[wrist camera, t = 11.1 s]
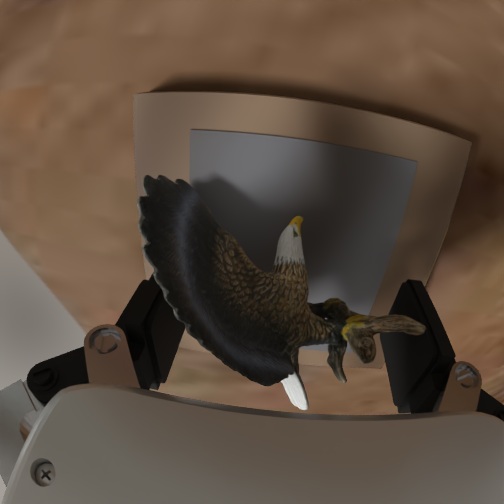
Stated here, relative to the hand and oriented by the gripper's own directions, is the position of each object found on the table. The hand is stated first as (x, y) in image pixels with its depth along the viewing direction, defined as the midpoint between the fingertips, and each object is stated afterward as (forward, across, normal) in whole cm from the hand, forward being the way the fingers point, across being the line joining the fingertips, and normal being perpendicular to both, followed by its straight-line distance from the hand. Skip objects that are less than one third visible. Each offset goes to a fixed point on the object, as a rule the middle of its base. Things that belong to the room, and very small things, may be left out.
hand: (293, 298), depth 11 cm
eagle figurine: (+2, +1, -1) cm, 3 cm away
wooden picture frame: (+4, 0, 0) cm, 4 cm away
